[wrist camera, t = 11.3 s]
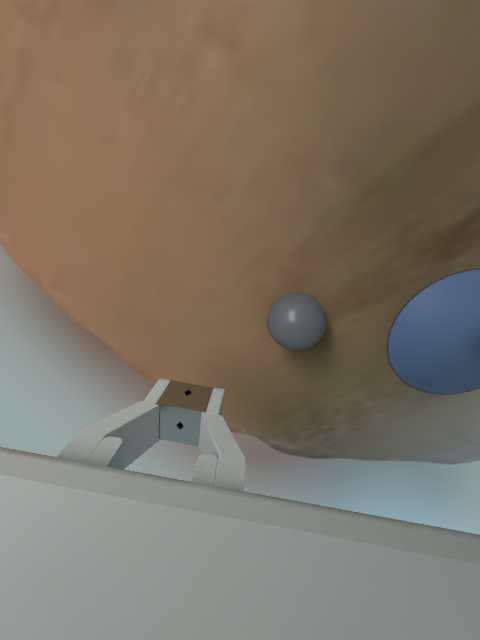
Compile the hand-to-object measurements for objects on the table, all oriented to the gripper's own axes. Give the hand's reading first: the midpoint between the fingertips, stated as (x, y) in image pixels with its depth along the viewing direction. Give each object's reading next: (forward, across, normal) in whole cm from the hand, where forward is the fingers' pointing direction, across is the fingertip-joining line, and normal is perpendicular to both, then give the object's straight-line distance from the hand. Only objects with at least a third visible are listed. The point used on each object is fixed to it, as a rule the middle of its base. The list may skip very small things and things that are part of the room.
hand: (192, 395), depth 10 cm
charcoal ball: (+12, -6, 0) cm, 14 cm away
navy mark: (+15, -24, 0) cm, 28 cm away
